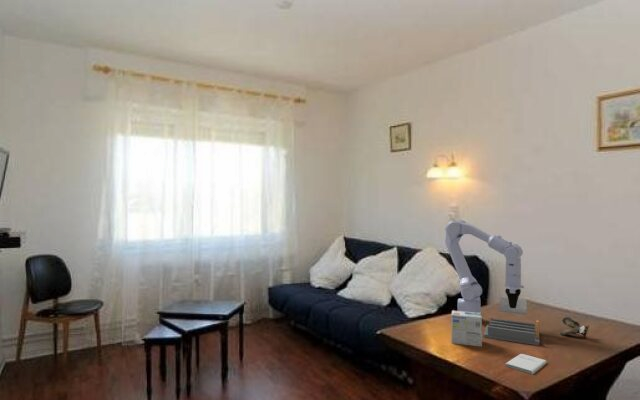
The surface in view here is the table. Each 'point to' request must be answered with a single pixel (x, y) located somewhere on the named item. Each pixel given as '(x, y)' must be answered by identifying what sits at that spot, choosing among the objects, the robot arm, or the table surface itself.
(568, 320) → the eagle figurine
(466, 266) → the robot arm
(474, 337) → the light bulb box
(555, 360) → the table surface
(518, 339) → the slot rack
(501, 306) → the panel
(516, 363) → the external hard drive
